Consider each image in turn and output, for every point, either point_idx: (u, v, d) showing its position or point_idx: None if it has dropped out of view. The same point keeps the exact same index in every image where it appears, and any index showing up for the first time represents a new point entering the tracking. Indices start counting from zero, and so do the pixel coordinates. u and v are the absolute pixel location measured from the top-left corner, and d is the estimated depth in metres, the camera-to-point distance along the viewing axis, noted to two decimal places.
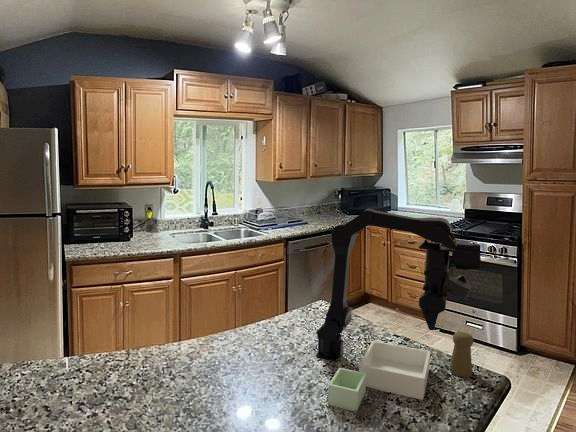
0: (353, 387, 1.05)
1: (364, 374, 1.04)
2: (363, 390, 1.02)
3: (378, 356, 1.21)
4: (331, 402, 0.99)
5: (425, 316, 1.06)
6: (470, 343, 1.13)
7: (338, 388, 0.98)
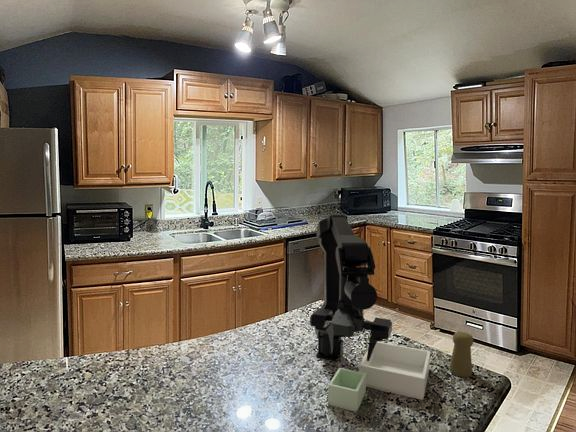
0: (353, 387, 1.05)
1: (364, 374, 1.04)
2: (363, 390, 1.02)
3: (378, 356, 1.21)
4: (331, 402, 0.99)
5: None
6: (470, 343, 1.13)
7: (338, 388, 0.98)
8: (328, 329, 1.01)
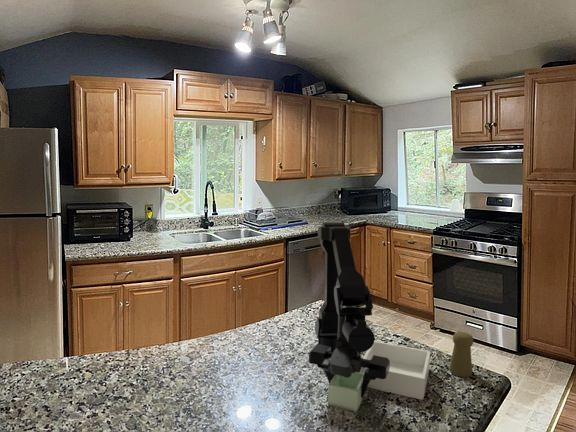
0: (353, 387, 1.05)
1: None
2: None
3: None
4: (331, 402, 0.99)
5: None
6: (470, 343, 1.13)
7: (338, 388, 0.98)
8: None
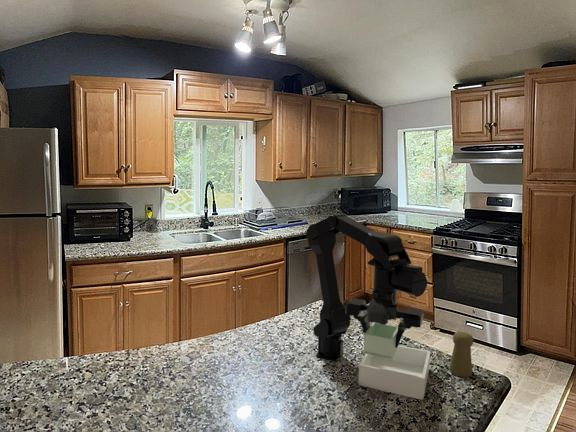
0: None
1: None
2: None
3: (378, 356, 1.21)
4: (367, 351, 1.04)
5: None
6: (470, 343, 1.13)
7: (374, 337, 1.03)
8: (366, 318, 1.07)
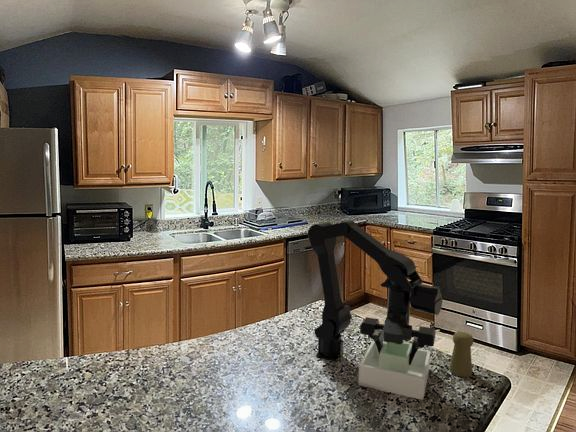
0: None
1: (410, 344, 1.13)
2: None
3: (378, 356, 1.21)
4: (382, 368, 1.09)
5: None
6: (470, 343, 1.13)
7: (389, 355, 1.08)
8: (380, 337, 1.12)
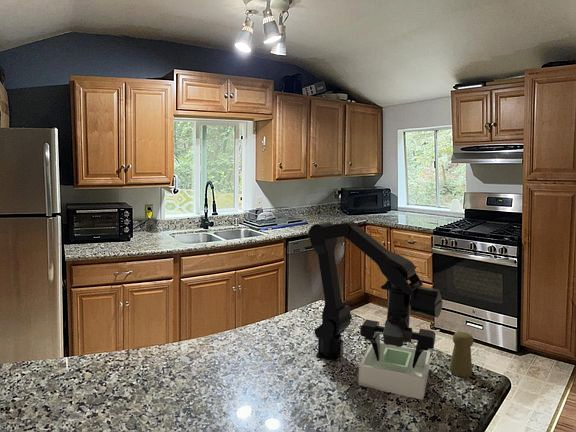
0: (399, 365, 1.15)
1: (410, 353, 1.14)
2: (409, 367, 1.12)
3: None
4: None
5: None
6: (470, 343, 1.13)
7: (388, 364, 1.08)
8: (376, 339, 1.12)
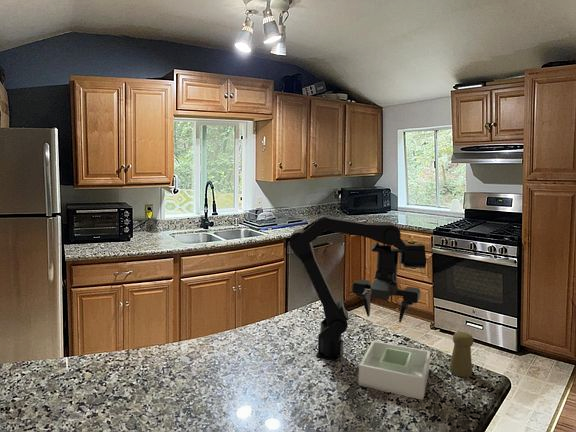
0: (399, 365, 1.15)
1: (410, 353, 1.14)
2: (409, 367, 1.12)
3: (378, 356, 1.21)
4: None
5: None
6: (470, 343, 1.13)
7: (388, 364, 1.08)
8: (366, 296, 1.22)
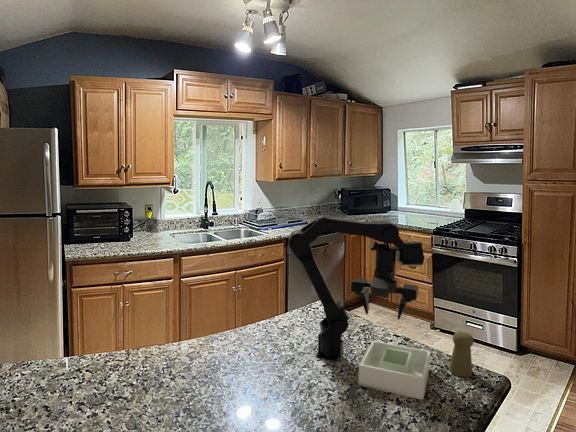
0: (399, 365, 1.15)
1: (410, 353, 1.14)
2: (409, 367, 1.12)
3: (378, 356, 1.21)
4: None
5: None
6: (470, 343, 1.13)
7: (388, 364, 1.08)
8: (365, 294, 1.23)
